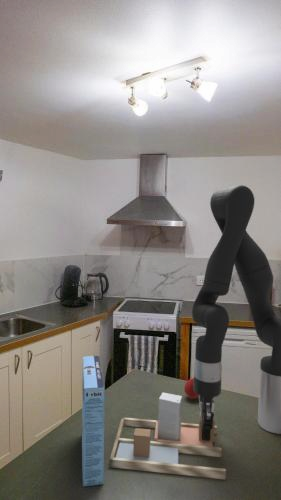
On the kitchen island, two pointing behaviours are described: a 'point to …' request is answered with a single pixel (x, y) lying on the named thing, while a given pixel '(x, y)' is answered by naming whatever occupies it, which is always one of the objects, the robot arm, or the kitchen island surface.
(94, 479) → the light blue flat box
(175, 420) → the skincare box
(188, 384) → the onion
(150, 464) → the lane rails
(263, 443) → the kitchen island surface
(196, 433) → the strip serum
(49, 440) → the kitchen island surface
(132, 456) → the strip empty
